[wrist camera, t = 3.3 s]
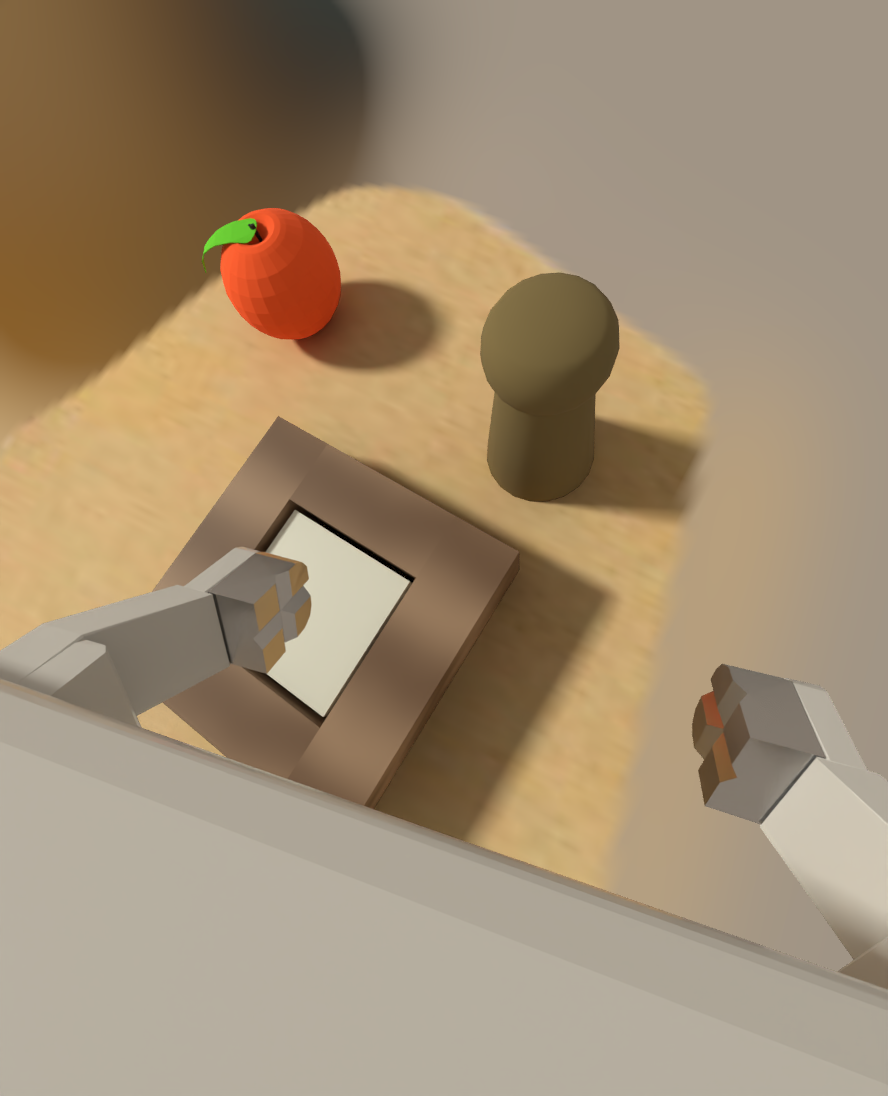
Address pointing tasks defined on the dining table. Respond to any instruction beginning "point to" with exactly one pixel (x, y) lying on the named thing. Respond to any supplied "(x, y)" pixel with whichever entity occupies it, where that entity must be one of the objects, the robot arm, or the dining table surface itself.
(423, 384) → the dining table surface
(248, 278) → the clementine
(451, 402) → the dining table surface
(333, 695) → the cream square tile
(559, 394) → the olive pepper mill
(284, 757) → the socket block
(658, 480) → the dining table surface
